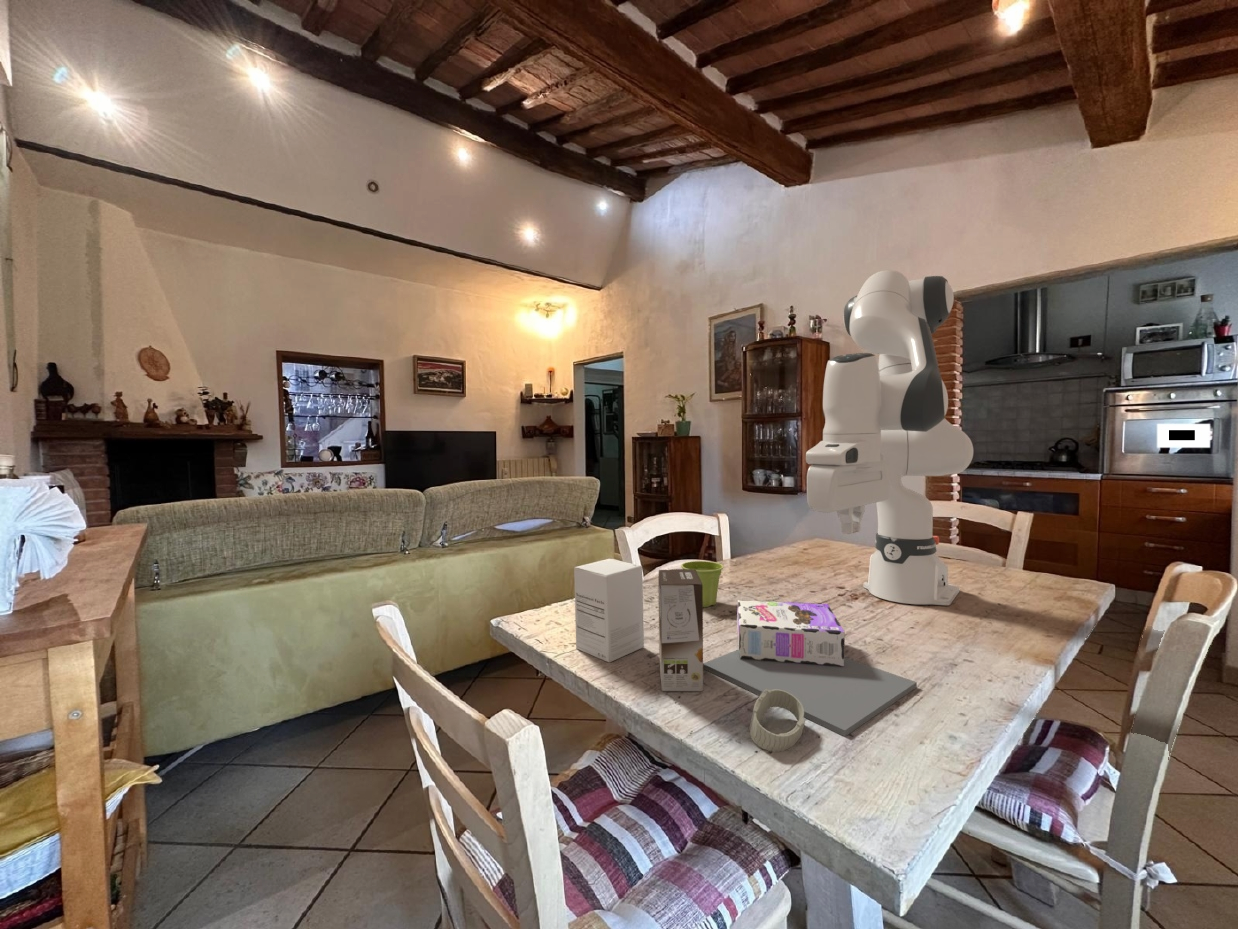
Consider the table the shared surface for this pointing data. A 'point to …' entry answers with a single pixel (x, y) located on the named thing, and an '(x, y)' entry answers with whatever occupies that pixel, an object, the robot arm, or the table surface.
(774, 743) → the beige ribbed ring
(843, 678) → the mat
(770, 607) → the candy box
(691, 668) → the coffee box
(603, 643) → the supplement box
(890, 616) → the table surface
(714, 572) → the plant pot
